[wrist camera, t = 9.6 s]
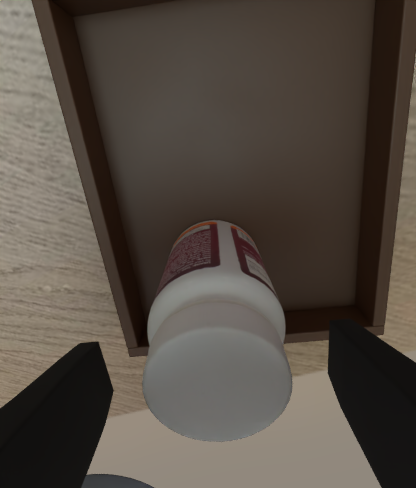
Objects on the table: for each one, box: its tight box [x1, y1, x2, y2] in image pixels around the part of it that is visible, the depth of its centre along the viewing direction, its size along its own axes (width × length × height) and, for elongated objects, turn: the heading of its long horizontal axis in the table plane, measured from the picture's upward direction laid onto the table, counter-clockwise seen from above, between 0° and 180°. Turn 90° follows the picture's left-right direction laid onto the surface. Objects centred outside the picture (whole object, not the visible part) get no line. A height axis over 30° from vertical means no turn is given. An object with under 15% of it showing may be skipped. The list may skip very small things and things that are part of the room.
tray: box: [32, 0, 416, 357], centre depth 13 cm, size 16×13×3 cm
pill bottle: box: [142, 220, 292, 442], centre depth 11 cm, size 5×5×8 cm
